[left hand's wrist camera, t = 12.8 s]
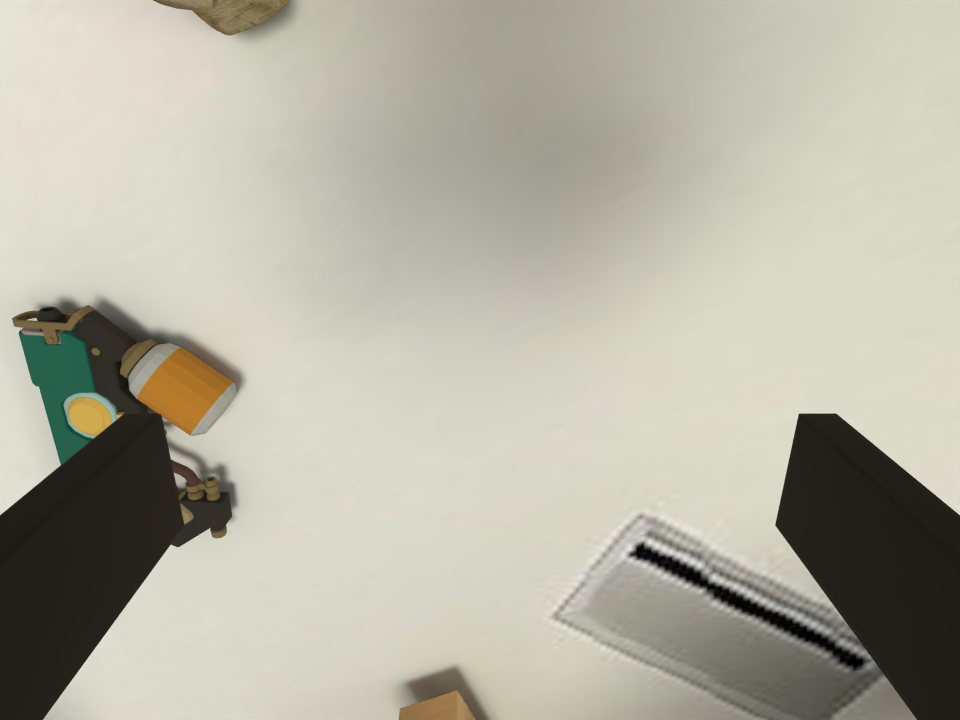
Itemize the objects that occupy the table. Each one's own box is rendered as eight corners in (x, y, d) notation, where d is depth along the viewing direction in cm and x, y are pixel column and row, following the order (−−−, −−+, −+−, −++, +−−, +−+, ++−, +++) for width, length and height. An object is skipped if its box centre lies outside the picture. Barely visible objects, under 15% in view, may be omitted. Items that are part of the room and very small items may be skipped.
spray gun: (233, 539, 47) (36, 480, 46) (273, 351, 40) (43, 276, 39) (207, 579, 43) (-9, 517, 42) (247, 379, 36) (-9, 297, 35)
